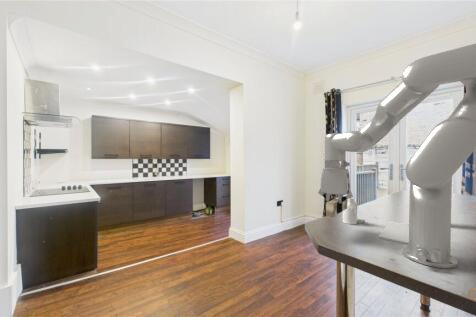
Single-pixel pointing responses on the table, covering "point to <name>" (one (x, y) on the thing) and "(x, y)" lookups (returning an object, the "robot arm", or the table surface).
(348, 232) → the table surface
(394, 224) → the grey mat
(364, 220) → the sage stop bar
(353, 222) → the white bottle
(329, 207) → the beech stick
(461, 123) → the robot arm
